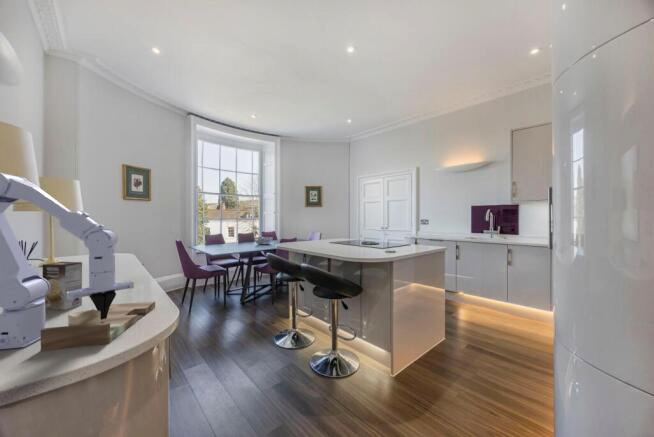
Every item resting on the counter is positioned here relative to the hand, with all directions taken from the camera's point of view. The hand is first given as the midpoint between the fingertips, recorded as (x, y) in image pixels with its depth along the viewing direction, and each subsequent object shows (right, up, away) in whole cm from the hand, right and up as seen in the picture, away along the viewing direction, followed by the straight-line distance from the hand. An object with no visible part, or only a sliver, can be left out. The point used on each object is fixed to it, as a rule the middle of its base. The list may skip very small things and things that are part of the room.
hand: (102, 318), depth 75 cm
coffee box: (-31, -4, +19) cm, 36 cm away
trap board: (-1, -3, +3) cm, 4 cm away
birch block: (-2, -1, -4) cm, 4 cm away
